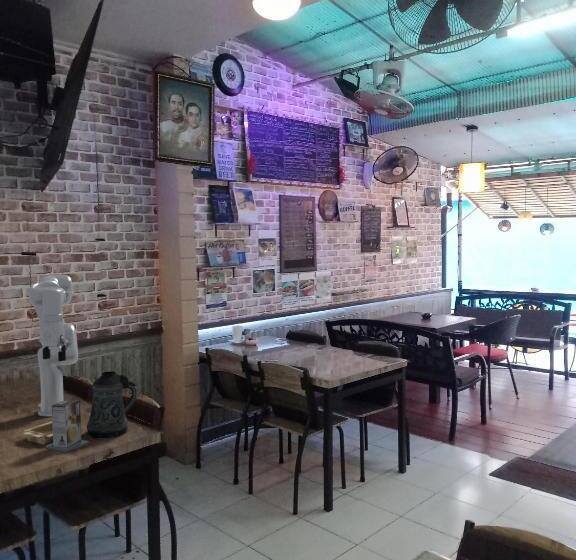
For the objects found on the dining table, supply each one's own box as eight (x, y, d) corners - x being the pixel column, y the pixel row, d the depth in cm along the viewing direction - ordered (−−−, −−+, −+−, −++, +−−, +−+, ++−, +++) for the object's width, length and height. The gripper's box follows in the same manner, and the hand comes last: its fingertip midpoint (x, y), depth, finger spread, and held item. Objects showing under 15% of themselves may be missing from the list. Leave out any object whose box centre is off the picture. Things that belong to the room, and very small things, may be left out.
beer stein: (79, 433, 231) (77, 373, 230) (121, 422, 245) (119, 365, 244) (100, 442, 220) (98, 379, 219) (142, 430, 234) (141, 370, 233)
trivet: (45, 447, 214) (45, 445, 214) (69, 439, 224) (69, 437, 224) (65, 452, 209) (65, 450, 209) (88, 443, 218) (88, 441, 218)
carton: (17, 441, 222) (17, 431, 222) (57, 428, 238) (57, 418, 238) (44, 447, 214) (44, 437, 214) (84, 433, 230) (83, 424, 230)
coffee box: (67, 438, 221) (66, 398, 221) (81, 440, 220) (80, 399, 219) (52, 446, 212) (51, 405, 212) (67, 448, 211) (65, 405, 210)
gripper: (31, 318, 232) (32, 359, 232) (59, 320, 223) (60, 363, 224) (47, 316, 238) (48, 356, 239) (74, 318, 230) (75, 360, 230)
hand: (54, 359), depth 231 cm, fingers open, 9 cm apart
